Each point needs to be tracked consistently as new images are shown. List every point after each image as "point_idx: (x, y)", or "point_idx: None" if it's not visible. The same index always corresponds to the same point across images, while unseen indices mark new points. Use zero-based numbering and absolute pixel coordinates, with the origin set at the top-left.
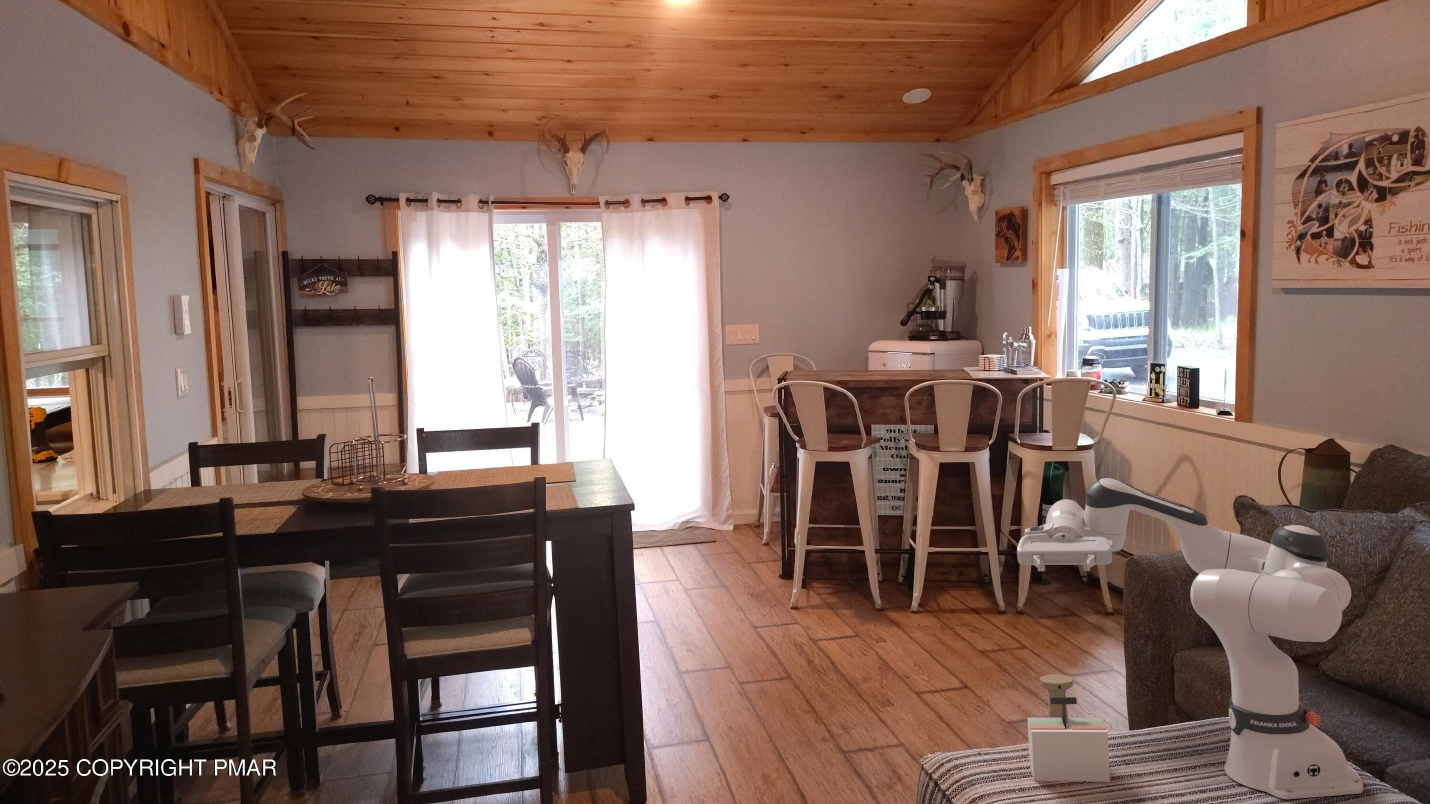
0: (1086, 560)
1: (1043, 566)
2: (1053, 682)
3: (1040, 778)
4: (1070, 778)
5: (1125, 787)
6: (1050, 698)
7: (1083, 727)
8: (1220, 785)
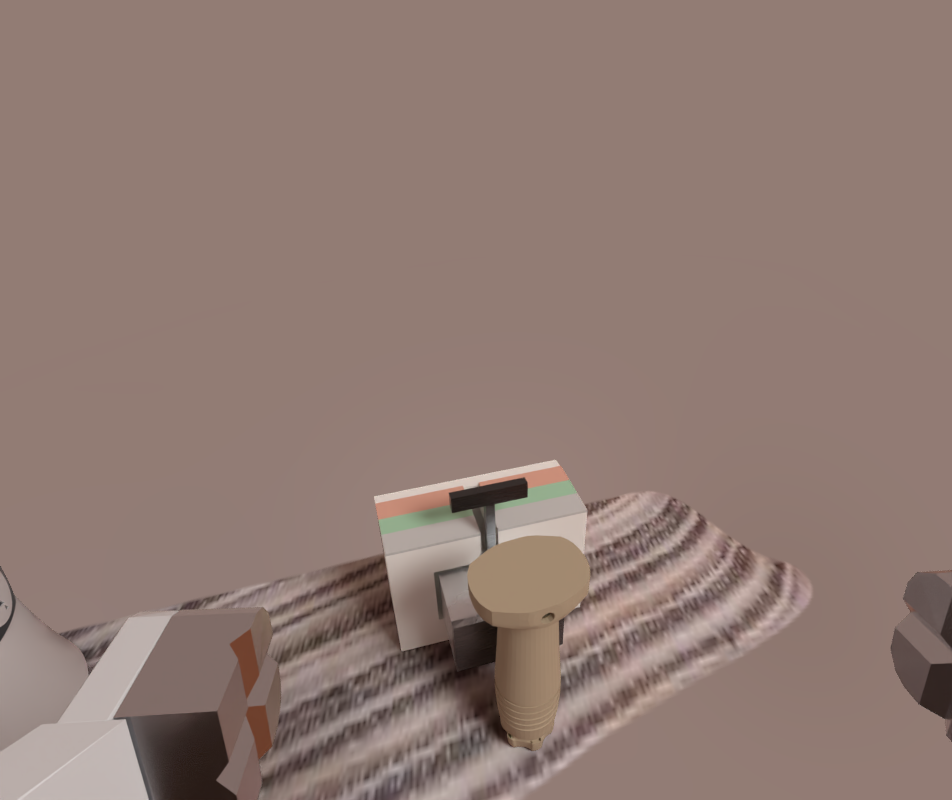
0: (125, 720)
1: (918, 587)
2: (532, 541)
3: None
4: None
5: (357, 577)
6: (523, 477)
7: (434, 496)
8: None
